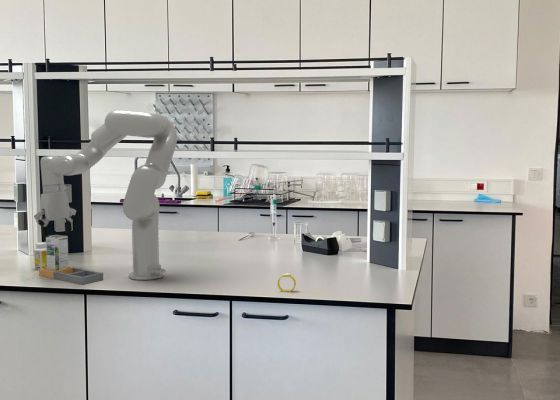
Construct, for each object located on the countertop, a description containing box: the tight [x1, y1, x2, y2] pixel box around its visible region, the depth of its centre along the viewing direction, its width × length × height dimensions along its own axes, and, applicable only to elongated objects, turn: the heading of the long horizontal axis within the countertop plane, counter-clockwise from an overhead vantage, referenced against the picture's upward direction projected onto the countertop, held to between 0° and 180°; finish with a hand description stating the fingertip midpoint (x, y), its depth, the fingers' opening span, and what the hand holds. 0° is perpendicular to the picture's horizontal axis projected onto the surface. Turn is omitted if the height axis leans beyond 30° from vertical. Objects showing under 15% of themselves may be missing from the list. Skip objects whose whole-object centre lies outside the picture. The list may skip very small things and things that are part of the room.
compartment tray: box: [38, 266, 104, 285], centre depth 228 cm, size 26×9×2 cm, turn 54°
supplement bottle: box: [33, 241, 47, 271], centre depth 243 cm, size 6×6×10 cm
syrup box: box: [45, 234, 70, 271], centre depth 232 cm, size 6×6×14 cm
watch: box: [277, 272, 297, 293], centre depth 207 cm, size 6×3×6 cm, turn 79°
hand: (57, 235), depth 231 cm, fingers open, 9 cm apart
